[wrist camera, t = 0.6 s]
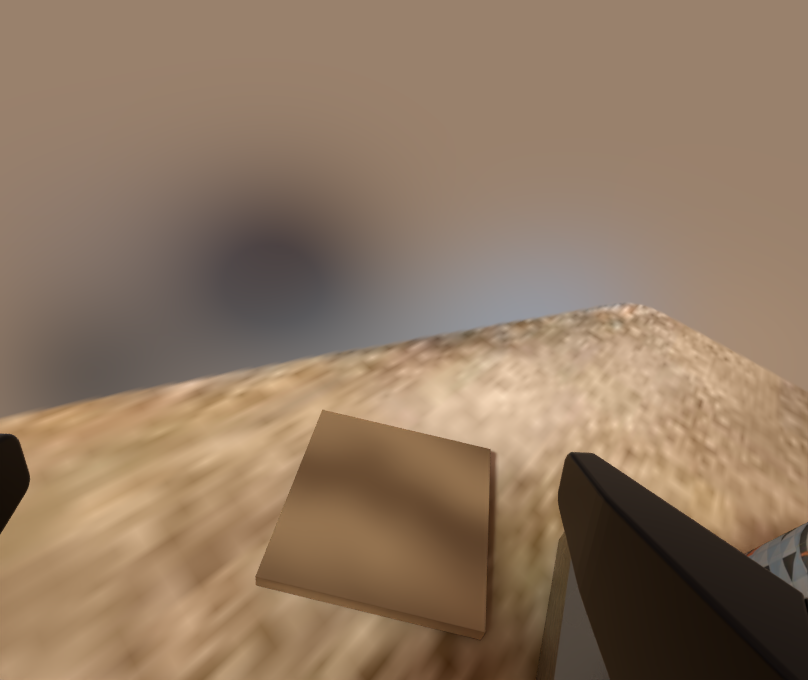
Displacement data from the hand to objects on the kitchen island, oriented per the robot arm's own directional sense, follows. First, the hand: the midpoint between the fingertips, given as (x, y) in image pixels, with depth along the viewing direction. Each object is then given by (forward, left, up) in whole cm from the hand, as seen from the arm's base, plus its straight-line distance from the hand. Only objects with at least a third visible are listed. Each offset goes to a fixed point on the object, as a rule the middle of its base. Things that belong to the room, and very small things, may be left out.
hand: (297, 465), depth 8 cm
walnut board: (+8, -5, -16) cm, 19 cm away
